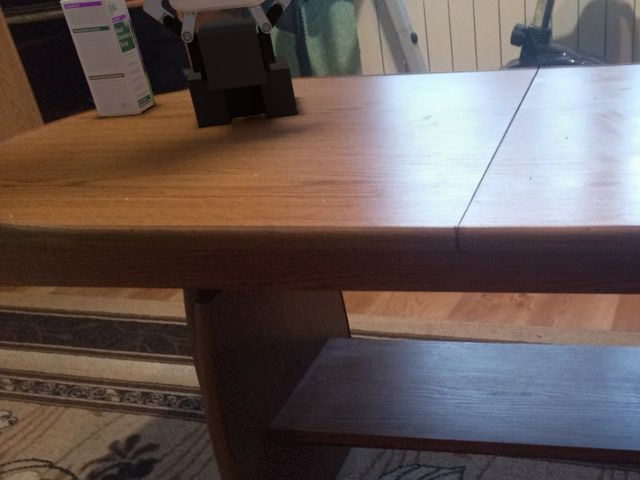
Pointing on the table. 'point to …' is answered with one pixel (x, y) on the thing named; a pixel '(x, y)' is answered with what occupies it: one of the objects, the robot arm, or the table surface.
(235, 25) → the block
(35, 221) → the table surface
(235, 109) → the block
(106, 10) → the syrup box
